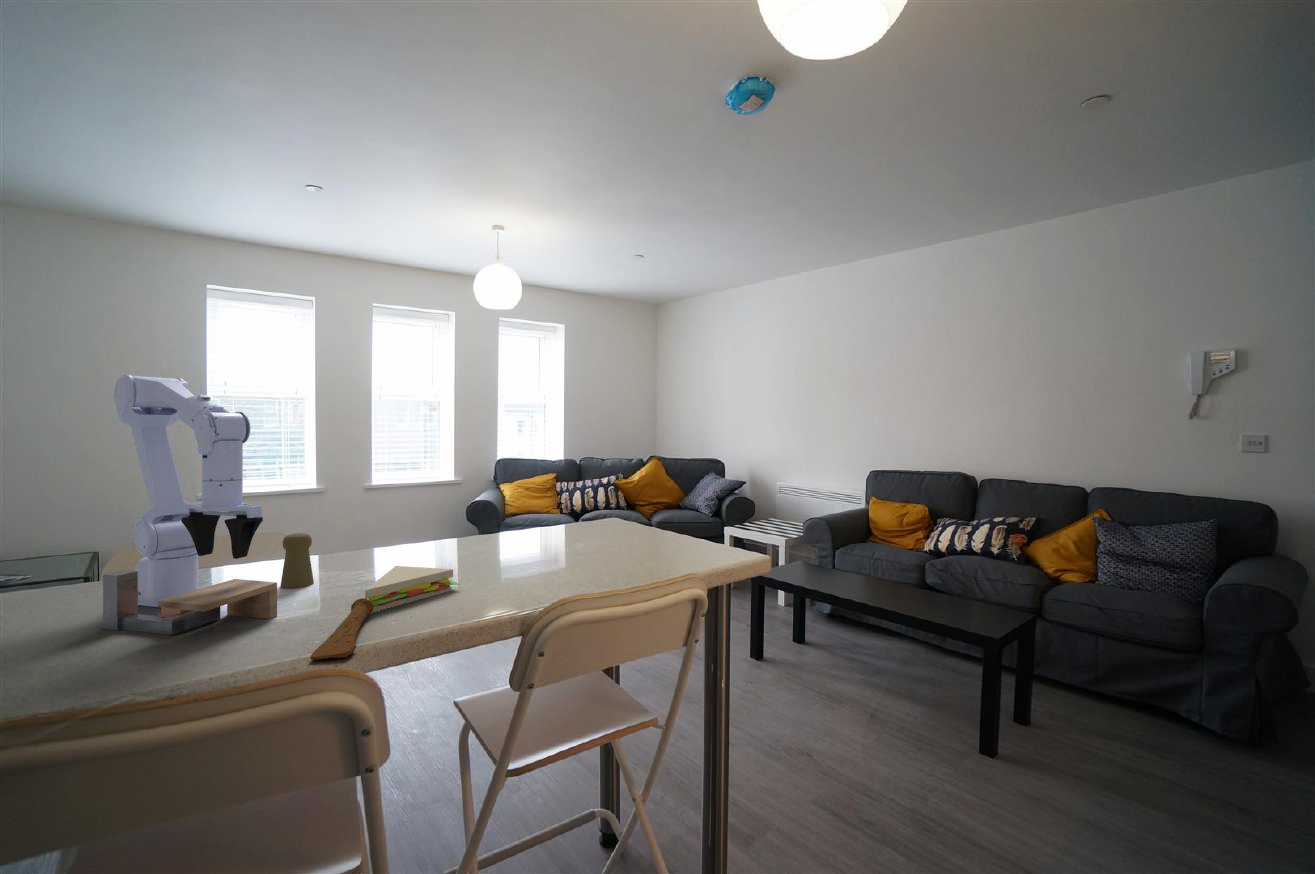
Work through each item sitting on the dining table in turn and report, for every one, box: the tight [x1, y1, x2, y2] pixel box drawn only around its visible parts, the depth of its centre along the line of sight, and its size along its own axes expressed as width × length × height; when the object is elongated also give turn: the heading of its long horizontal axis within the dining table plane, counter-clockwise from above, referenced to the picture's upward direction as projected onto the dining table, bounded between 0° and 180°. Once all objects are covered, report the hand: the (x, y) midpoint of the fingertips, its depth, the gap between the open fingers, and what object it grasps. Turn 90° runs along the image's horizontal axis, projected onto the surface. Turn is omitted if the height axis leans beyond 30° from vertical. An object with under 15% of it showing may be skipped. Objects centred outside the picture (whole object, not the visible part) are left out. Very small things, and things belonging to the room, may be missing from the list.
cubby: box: [156, 578, 278, 620], centre depth 94 cm, size 9×13×6 cm
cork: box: [280, 532, 315, 590], centre depth 118 cm, size 6×6×11 cm
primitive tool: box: [309, 597, 374, 661], centre depth 91 cm, size 19×6×4 cm, turn 12°
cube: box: [160, 607, 189, 617], centre depth 95 cm, size 4×4×4 cm
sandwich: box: [364, 565, 461, 613], centre depth 110 cm, size 15×20×5 cm
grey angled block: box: [102, 569, 221, 636], centre depth 95 cm, size 14×8×9 cm, turn 78°
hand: (222, 556), depth 100 cm, fingers open, 7 cm apart
